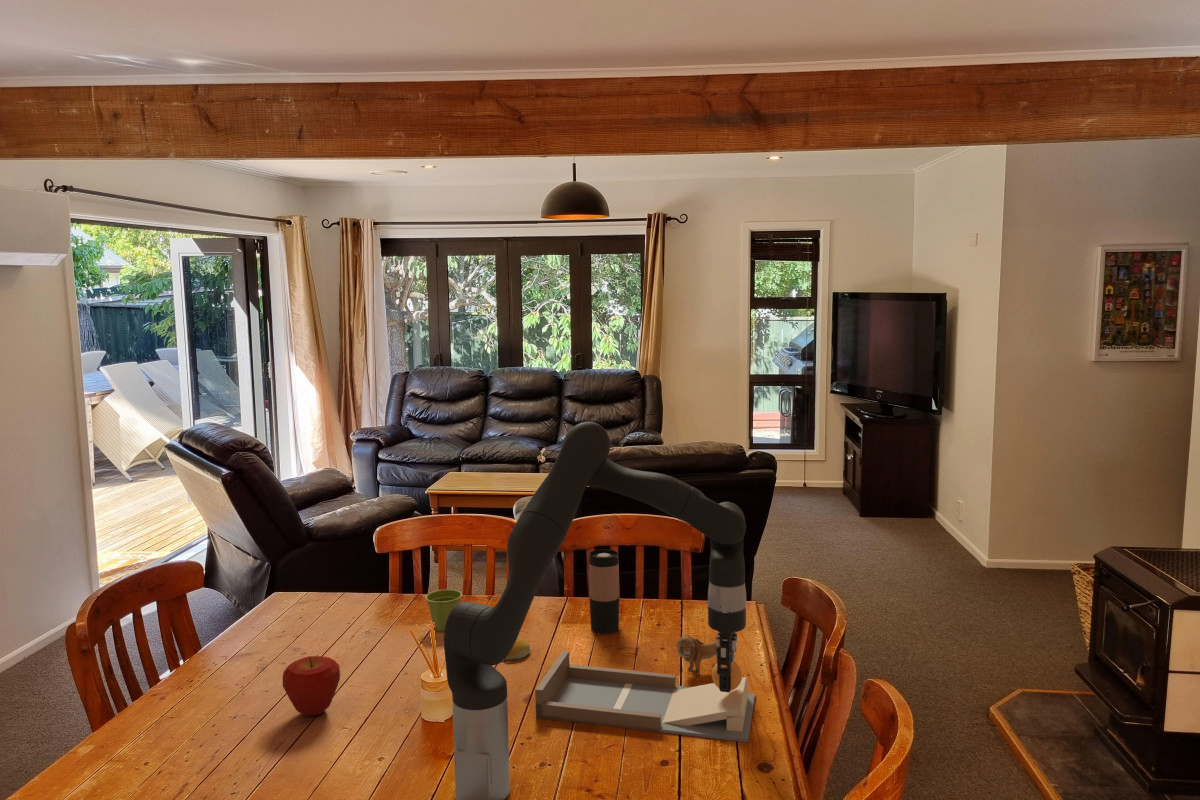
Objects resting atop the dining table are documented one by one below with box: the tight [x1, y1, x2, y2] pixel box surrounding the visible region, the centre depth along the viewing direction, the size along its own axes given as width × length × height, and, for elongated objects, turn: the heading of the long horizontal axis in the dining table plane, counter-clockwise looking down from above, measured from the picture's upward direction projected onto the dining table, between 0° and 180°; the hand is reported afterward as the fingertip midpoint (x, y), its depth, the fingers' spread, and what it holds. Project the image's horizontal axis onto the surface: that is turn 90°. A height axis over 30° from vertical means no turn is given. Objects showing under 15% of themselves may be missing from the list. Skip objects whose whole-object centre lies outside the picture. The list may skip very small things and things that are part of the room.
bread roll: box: [504, 636, 531, 661], centre depth 198 cm, size 8×9×4 cm
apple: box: [282, 655, 341, 717], centre depth 169 cm, size 11×11×12 cm
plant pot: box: [425, 589, 463, 632], centre depth 214 cm, size 9×9×9 cm
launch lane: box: [534, 650, 756, 743], centre depth 170 cm, size 42×19×7 cm, turn 76°
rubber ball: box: [711, 661, 743, 691], centre depth 166 cm, size 6×6×6 cm
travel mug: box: [588, 548, 620, 635], centre depth 211 cm, size 8×8×20 cm
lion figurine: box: [676, 635, 717, 676], centre depth 186 cm, size 15×5×9 cm, turn 111°
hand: (726, 683), depth 166 cm, fingers closed on rubber ball, 6 cm apart
